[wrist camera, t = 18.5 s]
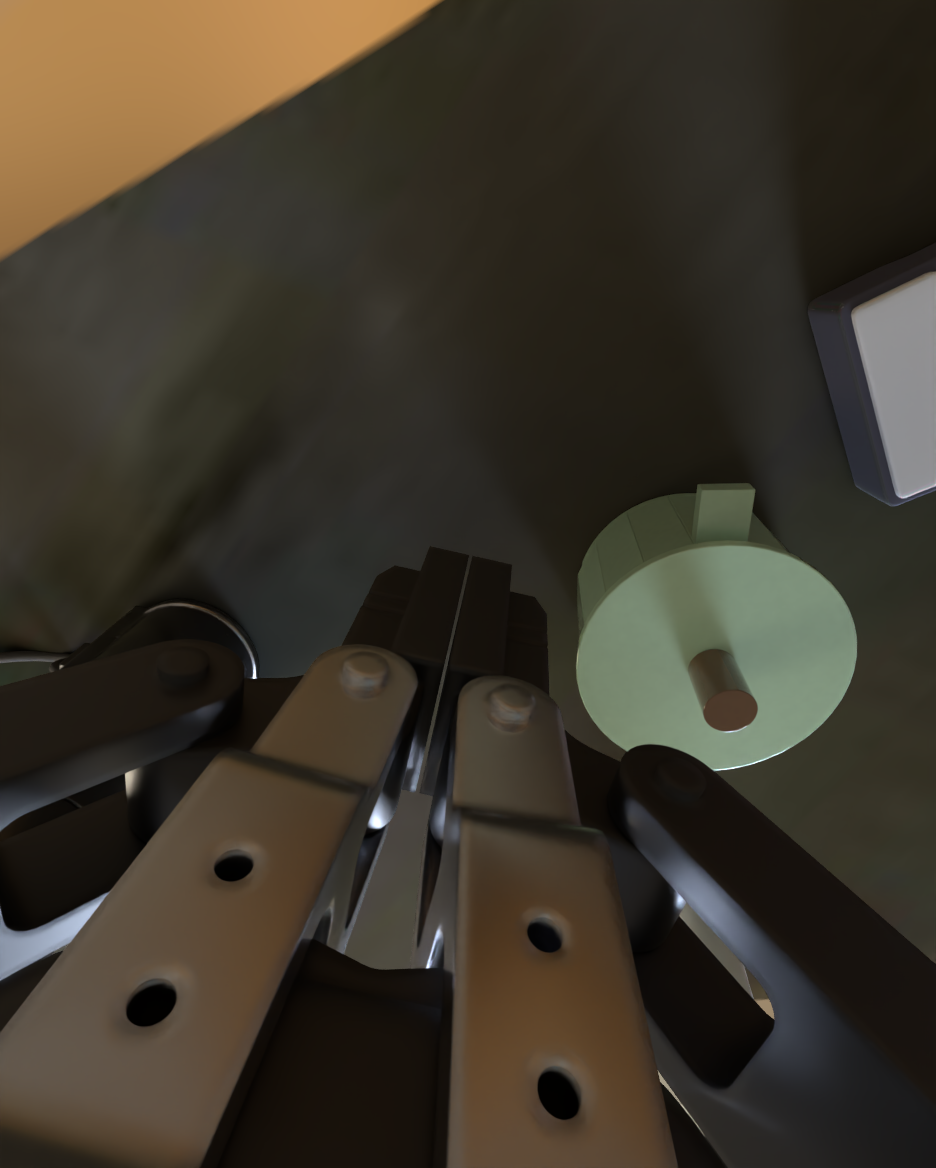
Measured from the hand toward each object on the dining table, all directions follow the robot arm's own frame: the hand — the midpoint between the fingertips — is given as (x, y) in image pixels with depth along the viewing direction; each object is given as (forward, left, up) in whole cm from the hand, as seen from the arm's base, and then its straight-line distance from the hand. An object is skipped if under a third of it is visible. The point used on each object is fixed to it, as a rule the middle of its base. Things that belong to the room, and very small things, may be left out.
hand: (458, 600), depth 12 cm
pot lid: (+13, -10, -18) cm, 25 cm away
